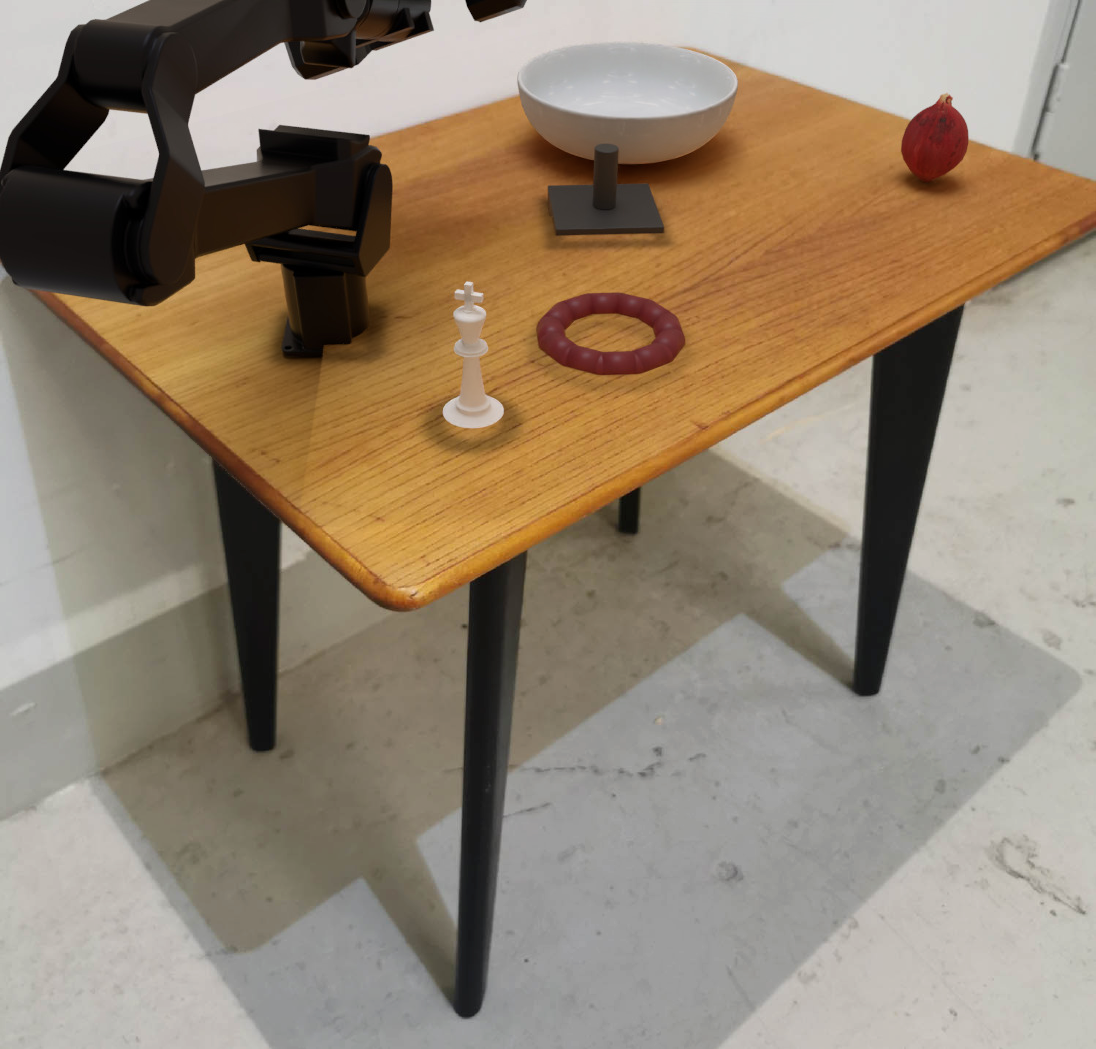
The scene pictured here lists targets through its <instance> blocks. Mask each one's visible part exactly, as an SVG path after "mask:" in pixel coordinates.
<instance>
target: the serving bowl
mask: <svg viewBox="0 0 1096 1049" xmlns="http://www.w3.org/2000/svg"><path fill="white" fill-rule="evenodd" d="M516 81H517V82H516V84H517V89H518V94H519V100H520V103H521V107H522V109H523V112H524V115H525V116H526V118H527V120H528V122H529V123H530V124H531V126H532V128H533V129H534V130H535V131H536V132H537V133H538V135H540V136H541V137H542V138H543V139H544V140H545V141H547V142H548V143H549V144H550V145H552V146H553V147H555V148H557V149H559V150H561V151H563V152H565V153H567V154H570V155H572V156H576V157H579V158H583V159H586V160H590V161H594V151H595V146H597V145H599V144H613V145H616V146H617V147H618V148H619V154H618V165H642V164H643V165H646V164H656V163H660V162H665V161H670V160H675V159H677V158H680V157H683V156H686V155H688V154H690V153H693V152H694V151H697V150H698V149H700V148H701V147H704V146H705V145H706V144H707V143H709V142H710V141H711V140H712V139H713V138H714V137H716V135H717V134H718V133H719V132H720V131H721V130H722V128H723V127H724V125H725V124H726V123H727V121H728V119H729V116H730V115H731V112H732V110H733V106H734V104H735V100H736V96H737V92H738V88H739V81H738V77H737V75H736V73H735V72H734V71H733V70H732V69H731V67H730V66H728V65H727V64H725V63H723V62H721V61H720V60H718V59H716V58H714V57H712V56H709V55H707V54H704V53H701V52H698V51H694V50H691V49H687V48H685V47H684V48H683V47H678V46H674V45H673V46H672V45H668V44H667V45H666V44H660V43H653V42H640V41H597V42H586V43H585V42H584V43H579V44H578V43H577V44H571V45H567V46H562V47H558V48H553V49H550V50H548V51H545V52H542V53H540V54H538V55H535V56H534V57H532V58H531V59H529V60H528V61H526V62H525V63H524V64H523V65H522V66H521V67H520V69H519V71H518V73H517V77H516Z"/></svg>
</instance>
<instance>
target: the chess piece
mask: <svg viewBox="0 0 1096 1049" xmlns="http://www.w3.org/2000/svg"><path fill="white" fill-rule="evenodd" d="M453 293H454V300H457V301H463V302H464V304H463V305H461V306H459V307H457V308H456V309H455V310H454V311H453V314H452V316H453V320H454V323H455V324H456V326H457V329H458V332H459V335H460V339H458V340H457V341H456V342H455V343H454V346H453V352H454V353H455V354H456V355H457V356H459V357H461V358H463V360H462V373H461V383H460V392H459V395H457V396H456V397H454V398H452V399H451V400H449V401H447V402H446V403H445V405H444V406H443V408H442V416H443V418H444V419H445V421H447V422H448V423H449V424H451V425H453V426H455V427H458V428H463V429H480V428H485V427H490V426H491V425H494V424H495V423H497V422H498V421H500V420H501V419H502V417H503V416H504V413H505V408H504V406H503V404H502V403H501V402H500V401H499V400H498V399H496V398H495V397H492V396H489V395H488V394H486V391H485V386H484V380H483V374H482V368H481V360H480V357H482V356H484V355H486V354H487V353H488V352H489V346H488V343H487V341H486V340H485V339H482V338H480V337H481V334H482V330H483V327H484V324H485V322H486V319H487V312H486V310H485V308H483V307H482V306H479V305H476V304H482V303H483V302H484V300H485V299H484V293H483V292H477V291H474V282H473V281H465V283H464V284H463V289H458V288H457V289H456V290H455V291H454V292H453ZM475 303H476V304H475Z"/></svg>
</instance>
